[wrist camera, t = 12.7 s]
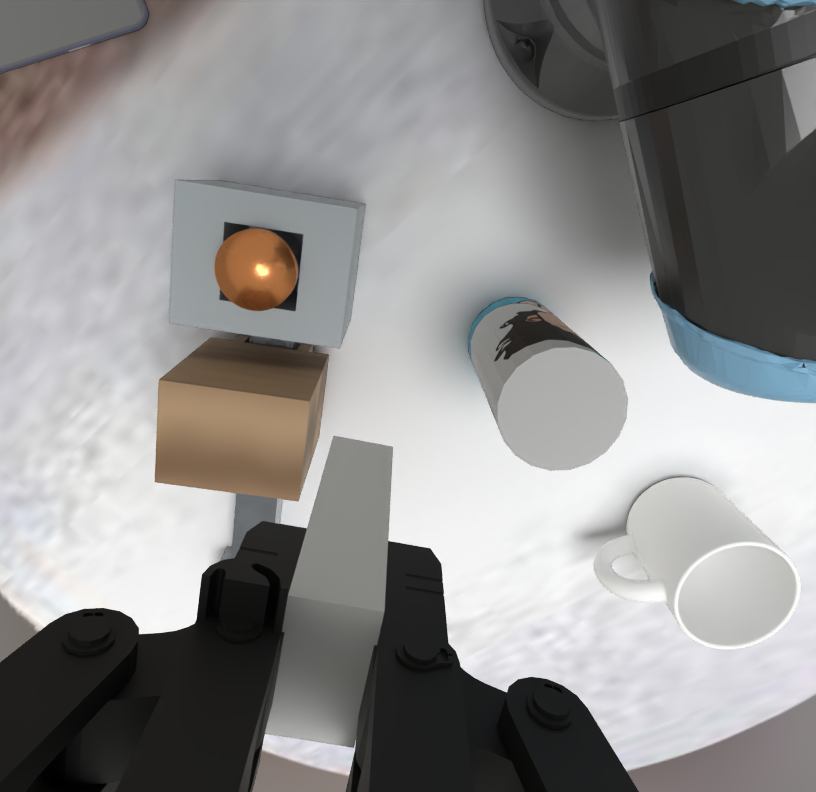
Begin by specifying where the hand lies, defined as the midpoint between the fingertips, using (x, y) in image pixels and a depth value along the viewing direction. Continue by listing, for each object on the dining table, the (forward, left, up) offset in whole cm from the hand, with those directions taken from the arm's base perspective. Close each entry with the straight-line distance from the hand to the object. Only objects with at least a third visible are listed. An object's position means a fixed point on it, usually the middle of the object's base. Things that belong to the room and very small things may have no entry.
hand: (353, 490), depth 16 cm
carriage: (+7, -7, -32) cm, 33 cm away
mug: (+15, +24, -32) cm, 43 cm away
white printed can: (+2, +10, -32) cm, 33 cm away
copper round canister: (-2, -7, -28) cm, 29 cm away
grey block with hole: (-2, -7, -32) cm, 32 cm away
